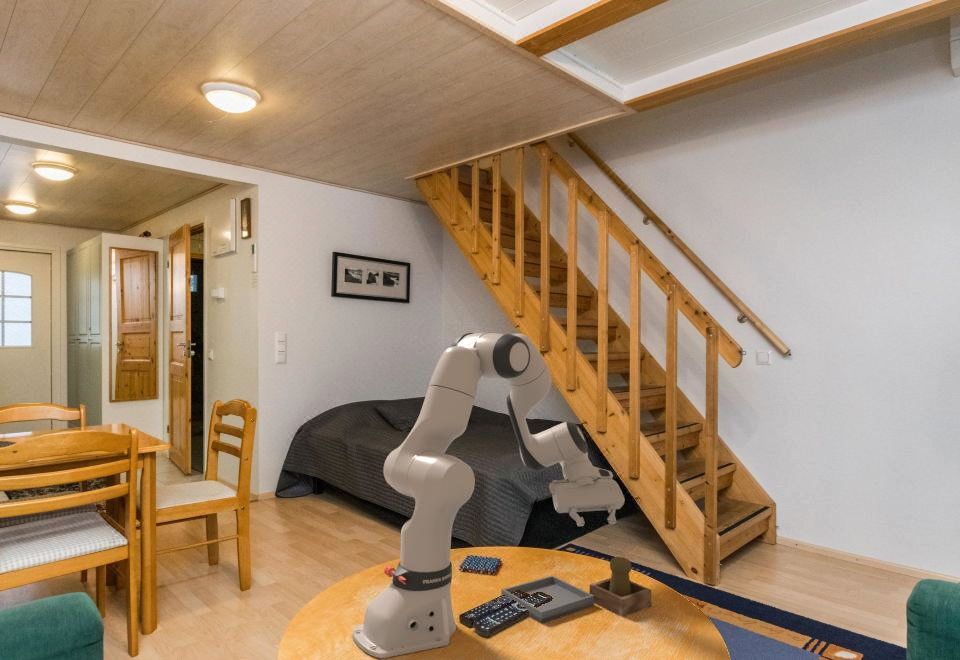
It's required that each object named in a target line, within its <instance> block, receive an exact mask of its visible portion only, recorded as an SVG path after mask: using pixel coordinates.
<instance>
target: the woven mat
mask: <svg viewBox="0 0 960 660" xmlns="http://www.w3.org/2000/svg"><path fill="white" fill-rule="evenodd" d="M501 559H502V558H498V557H492V556H485V557H484V556H482V555H474V554H470V555H467V556H466V557H465V559H464V560H463V561H462V563H460V565H459V568H458V569H459V572H465V573H473V574H475V573H476V575H477V574H478V575H479V574H481V575H483V574H484V575H488V576H490V575H492V576H495V575H496V573H498V572H499V571H498V570H499V568H500V567H501V566H502V562H503V560H501Z"/></svg>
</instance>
